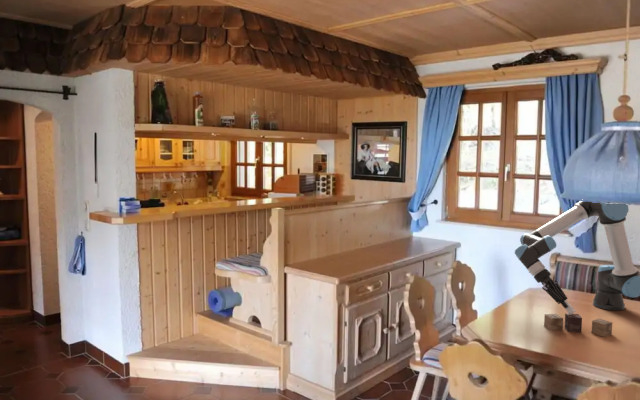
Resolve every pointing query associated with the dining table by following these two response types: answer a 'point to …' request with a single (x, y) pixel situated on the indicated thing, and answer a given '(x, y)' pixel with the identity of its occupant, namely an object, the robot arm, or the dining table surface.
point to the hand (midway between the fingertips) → (572, 313)
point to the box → (573, 322)
